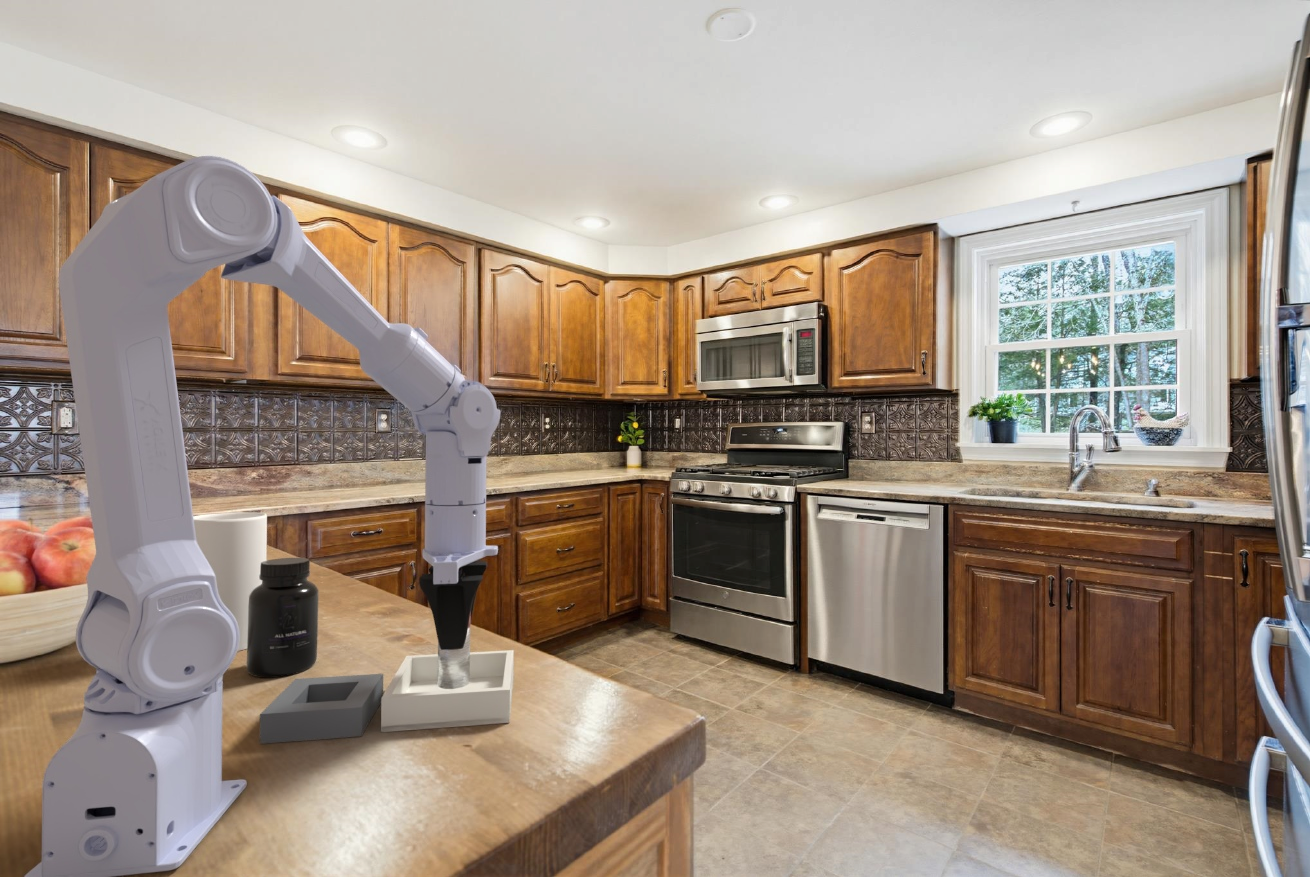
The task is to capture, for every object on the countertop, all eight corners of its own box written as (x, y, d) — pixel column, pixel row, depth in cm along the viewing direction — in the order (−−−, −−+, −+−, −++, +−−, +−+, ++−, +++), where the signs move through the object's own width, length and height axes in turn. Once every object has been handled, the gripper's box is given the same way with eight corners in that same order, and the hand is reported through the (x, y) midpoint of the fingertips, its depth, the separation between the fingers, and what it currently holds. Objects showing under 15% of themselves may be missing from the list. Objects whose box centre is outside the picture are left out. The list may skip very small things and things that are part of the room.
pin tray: (509, 722, 57) (509, 689, 57) (381, 732, 55) (381, 697, 55) (513, 677, 68) (513, 649, 68) (406, 684, 66) (406, 655, 66)
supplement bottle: (285, 681, 67) (286, 568, 67) (231, 676, 68) (232, 565, 68) (331, 659, 73) (332, 556, 73) (281, 655, 75) (281, 554, 75)
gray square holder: (361, 736, 55) (361, 707, 55) (259, 743, 53) (260, 713, 53) (383, 698, 62) (383, 673, 62) (295, 704, 61) (295, 678, 61)
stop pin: (468, 687, 61) (469, 615, 61) (435, 689, 60) (436, 616, 60) (470, 676, 64) (471, 606, 64) (439, 678, 63) (440, 607, 63)
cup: (258, 650, 76) (259, 518, 76) (176, 658, 73) (177, 521, 73) (271, 631, 84) (272, 511, 84) (197, 637, 81) (199, 513, 81)
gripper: (493, 510, 55) (491, 665, 55) (501, 496, 70) (500, 619, 70) (408, 511, 54) (407, 670, 54) (434, 496, 68) (433, 622, 68)
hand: (454, 641), depth 62 cm, fingers open, 3 cm apart
